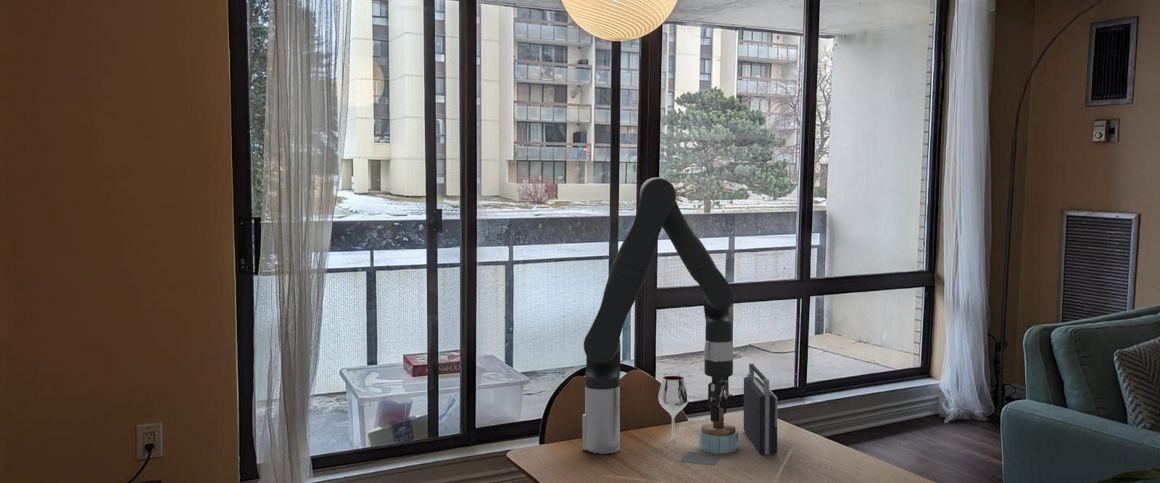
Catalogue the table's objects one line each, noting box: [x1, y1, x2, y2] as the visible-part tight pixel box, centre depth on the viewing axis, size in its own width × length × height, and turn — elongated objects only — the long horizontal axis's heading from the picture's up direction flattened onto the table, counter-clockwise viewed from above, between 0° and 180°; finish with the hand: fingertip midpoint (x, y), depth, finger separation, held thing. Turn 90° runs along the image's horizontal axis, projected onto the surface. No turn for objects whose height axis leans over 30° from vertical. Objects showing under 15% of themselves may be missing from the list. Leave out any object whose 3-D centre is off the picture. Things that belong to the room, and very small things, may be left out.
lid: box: [700, 408, 736, 436], centre depth 227 cm, size 9×9×6 cm
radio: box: [743, 362, 778, 455], centre depth 233 cm, size 24×5×20 cm, turn 179°
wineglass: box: [657, 375, 689, 443], centre depth 233 cm, size 8×8×18 cm
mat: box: [679, 451, 723, 467], centre depth 218 cm, size 9×9×1 cm
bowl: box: [698, 428, 739, 454], centre depth 227 cm, size 10×10×5 cm
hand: (718, 417), depth 227 cm, fingers open, 8 cm apart
